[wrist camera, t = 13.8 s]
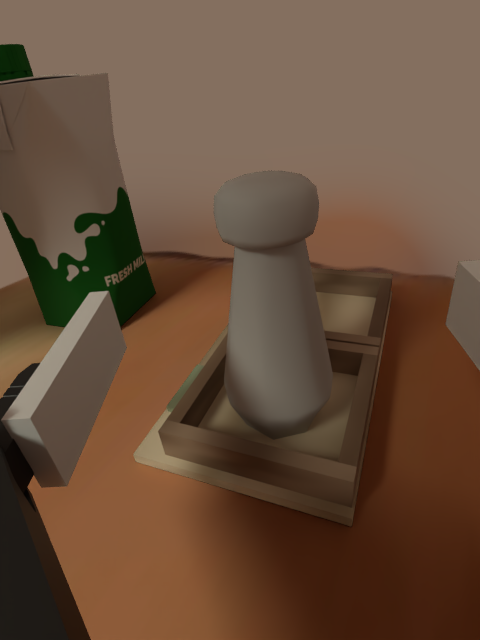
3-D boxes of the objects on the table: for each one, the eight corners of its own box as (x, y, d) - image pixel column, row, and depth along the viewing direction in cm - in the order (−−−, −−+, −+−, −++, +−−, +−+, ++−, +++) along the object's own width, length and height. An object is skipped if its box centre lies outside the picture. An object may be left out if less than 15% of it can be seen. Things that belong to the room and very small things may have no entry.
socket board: (135, 461, 22) (124, 431, 21) (261, 285, 37) (259, 261, 36) (351, 526, 18) (354, 493, 16) (391, 297, 33) (394, 271, 32)
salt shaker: (243, 373, 26) (216, 163, 19) (334, 381, 25) (341, 156, 18) (217, 444, 21) (169, 201, 14) (327, 459, 20) (333, 196, 13)
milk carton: (94, 282, 42) (16, 50, 31) (170, 289, 38) (113, 34, 28) (30, 329, 35) (-98, 54, 24) (117, 343, 32) (14, 33, 21)
